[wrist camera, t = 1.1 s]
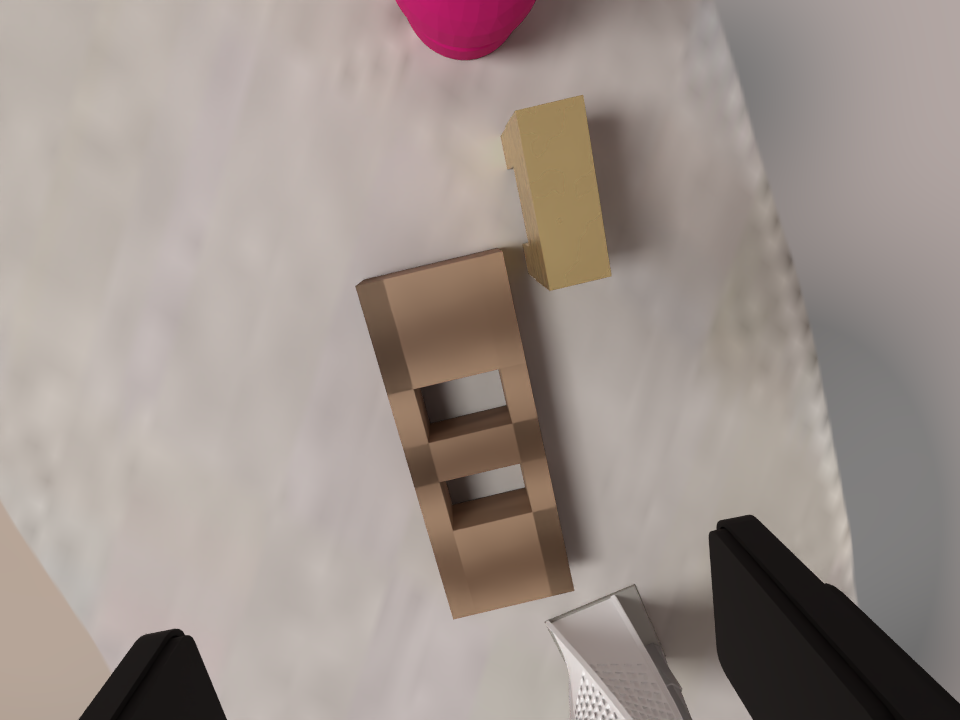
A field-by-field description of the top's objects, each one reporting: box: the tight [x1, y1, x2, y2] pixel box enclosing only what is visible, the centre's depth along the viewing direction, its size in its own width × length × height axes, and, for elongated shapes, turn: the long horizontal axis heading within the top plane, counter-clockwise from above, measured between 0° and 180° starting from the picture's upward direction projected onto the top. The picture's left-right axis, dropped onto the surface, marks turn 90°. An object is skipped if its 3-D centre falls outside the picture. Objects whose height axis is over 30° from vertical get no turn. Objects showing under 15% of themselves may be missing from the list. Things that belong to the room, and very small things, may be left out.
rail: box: [355, 248, 574, 619], centre depth 32 cm, size 22×8×3 cm, turn 13°
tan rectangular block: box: [501, 95, 611, 291], centre depth 27 cm, size 8×3×7 cm, turn 13°
